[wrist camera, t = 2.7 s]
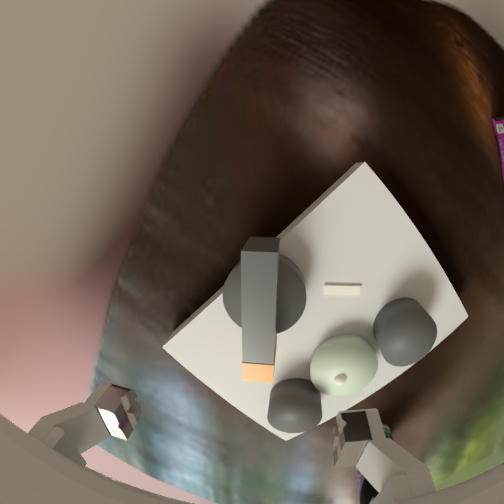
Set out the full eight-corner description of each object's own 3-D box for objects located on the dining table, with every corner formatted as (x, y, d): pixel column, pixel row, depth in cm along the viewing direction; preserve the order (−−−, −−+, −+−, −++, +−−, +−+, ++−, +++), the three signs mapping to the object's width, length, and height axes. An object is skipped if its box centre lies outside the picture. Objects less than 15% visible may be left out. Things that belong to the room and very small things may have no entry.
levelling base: (355, 163, 21) (376, 159, 16) (454, 303, 23) (483, 331, 18) (173, 331, 28) (149, 364, 22) (286, 423, 30) (284, 460, 24)
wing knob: (226, 230, 21) (204, 250, 16) (308, 232, 20) (315, 254, 15) (230, 335, 23) (214, 377, 18) (300, 339, 23) (301, 384, 17)
